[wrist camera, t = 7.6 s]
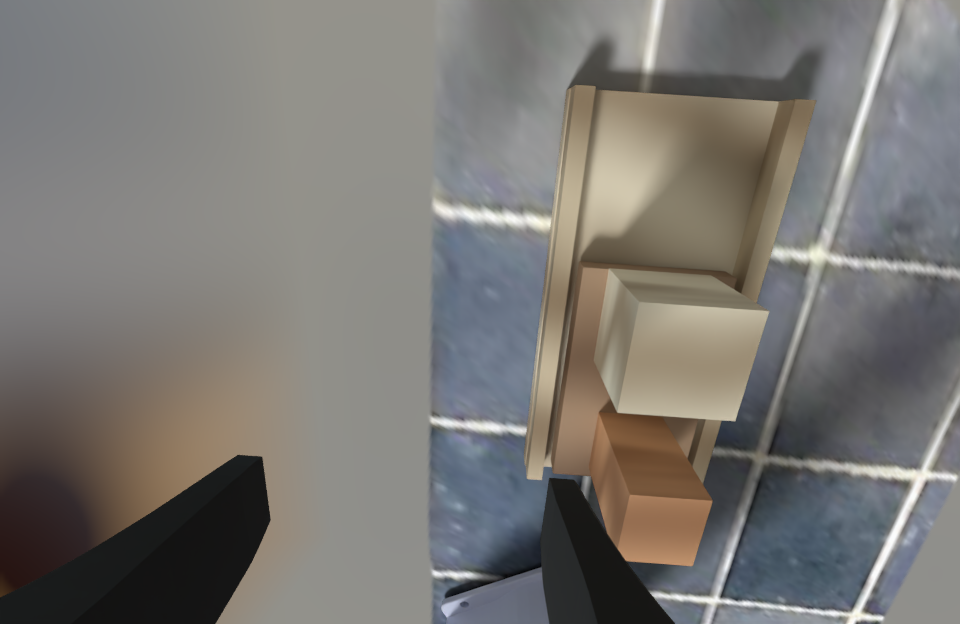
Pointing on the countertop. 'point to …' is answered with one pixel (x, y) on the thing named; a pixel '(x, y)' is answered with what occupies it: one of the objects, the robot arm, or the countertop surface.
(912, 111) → the countertop surface
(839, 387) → the countertop surface
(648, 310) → the cube
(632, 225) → the rail bed
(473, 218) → the countertop surface
